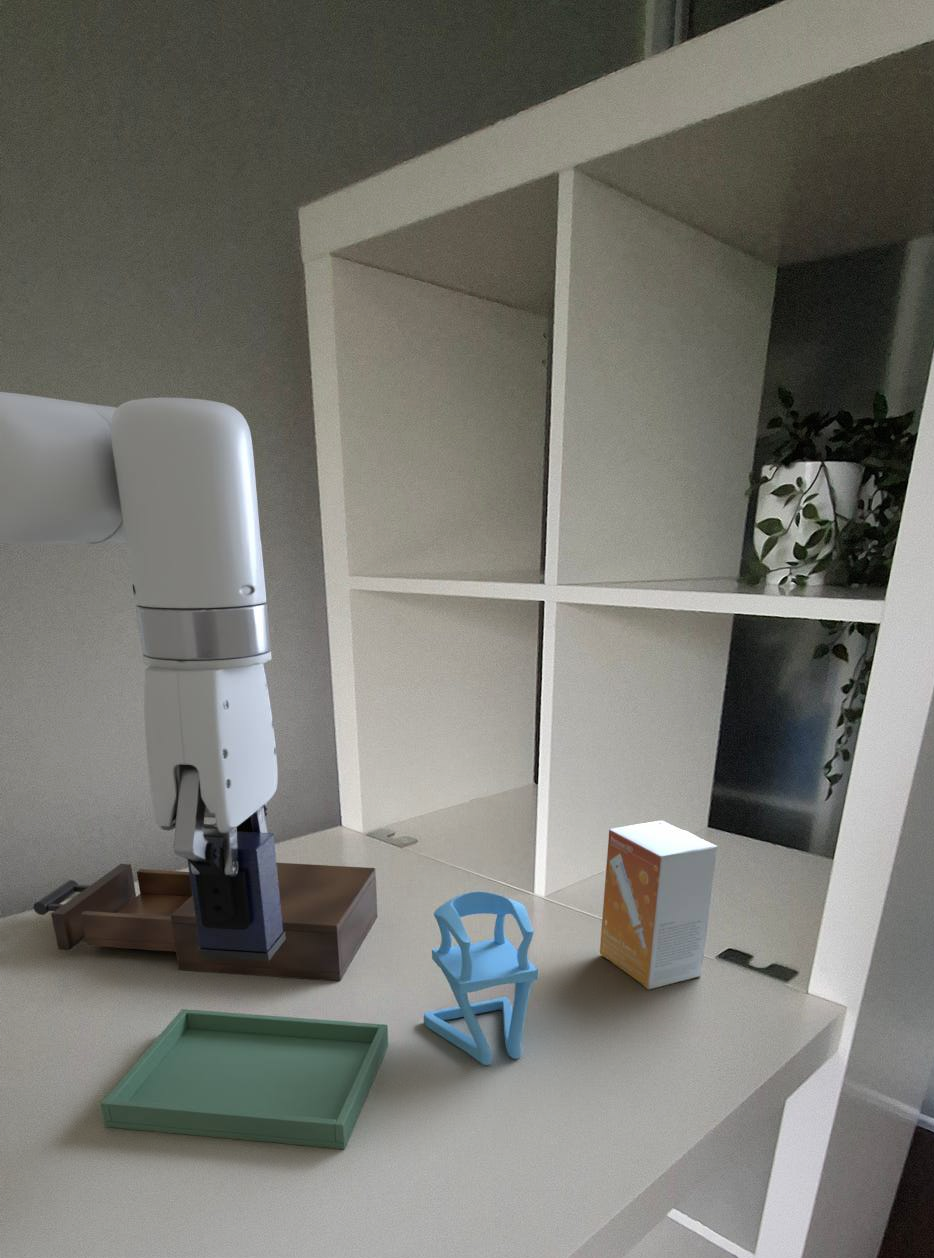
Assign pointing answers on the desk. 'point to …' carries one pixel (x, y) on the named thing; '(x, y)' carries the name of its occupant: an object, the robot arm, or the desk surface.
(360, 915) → the cabinet
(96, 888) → the drawer
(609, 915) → the small box
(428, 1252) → the desk surface
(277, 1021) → the tray
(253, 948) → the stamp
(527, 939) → the chair
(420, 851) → the desk surface
